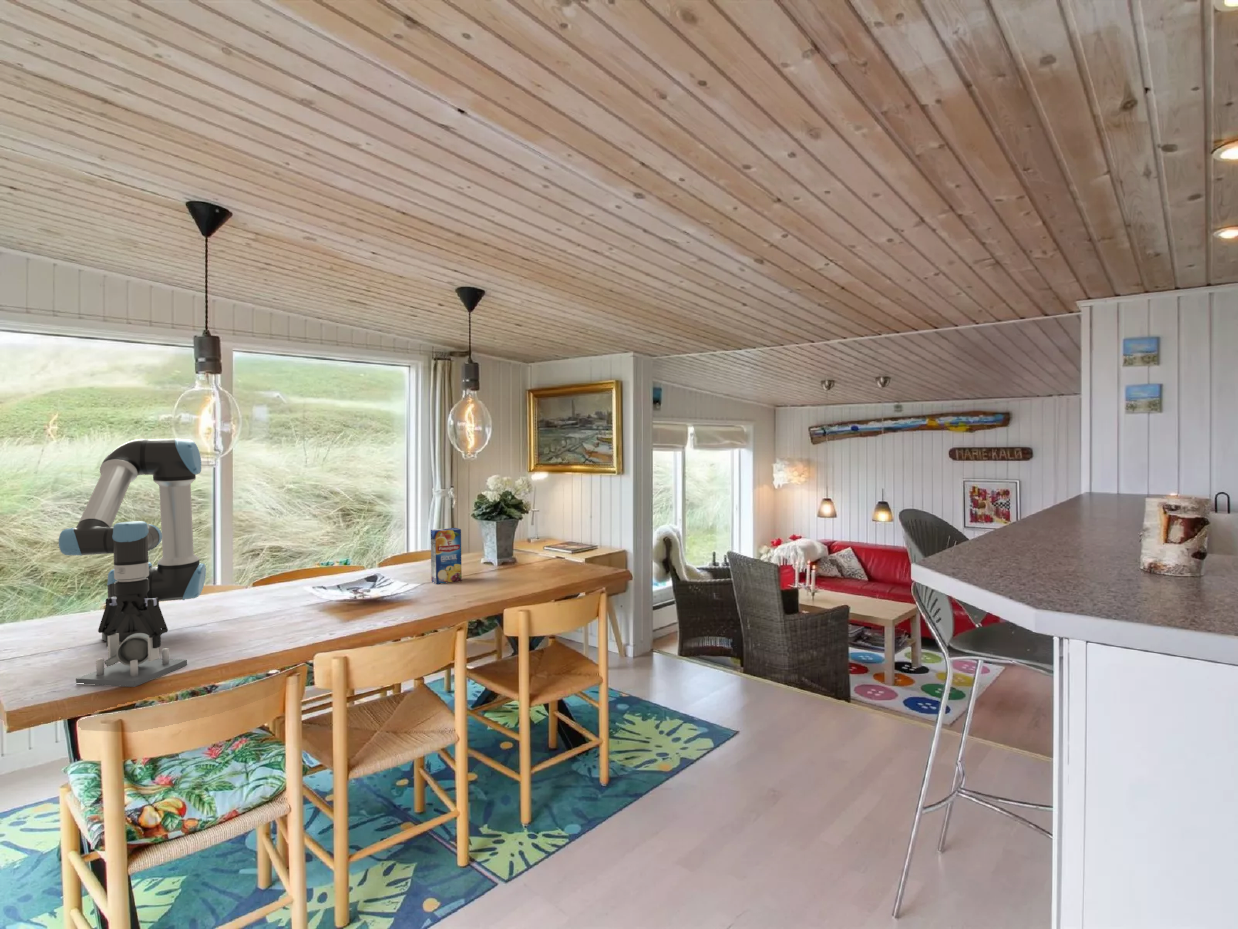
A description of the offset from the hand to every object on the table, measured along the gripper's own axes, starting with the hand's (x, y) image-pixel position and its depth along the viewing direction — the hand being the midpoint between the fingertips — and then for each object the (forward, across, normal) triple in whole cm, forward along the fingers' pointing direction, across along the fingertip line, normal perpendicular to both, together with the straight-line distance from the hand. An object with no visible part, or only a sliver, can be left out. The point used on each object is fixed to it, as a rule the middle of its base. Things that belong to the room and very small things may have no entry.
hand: (133, 659), depth 174 cm
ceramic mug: (+1, 0, 0) cm, 1 cm away
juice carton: (+5, +36, +127) cm, 133 cm away
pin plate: (+4, 0, 0) cm, 4 cm away
